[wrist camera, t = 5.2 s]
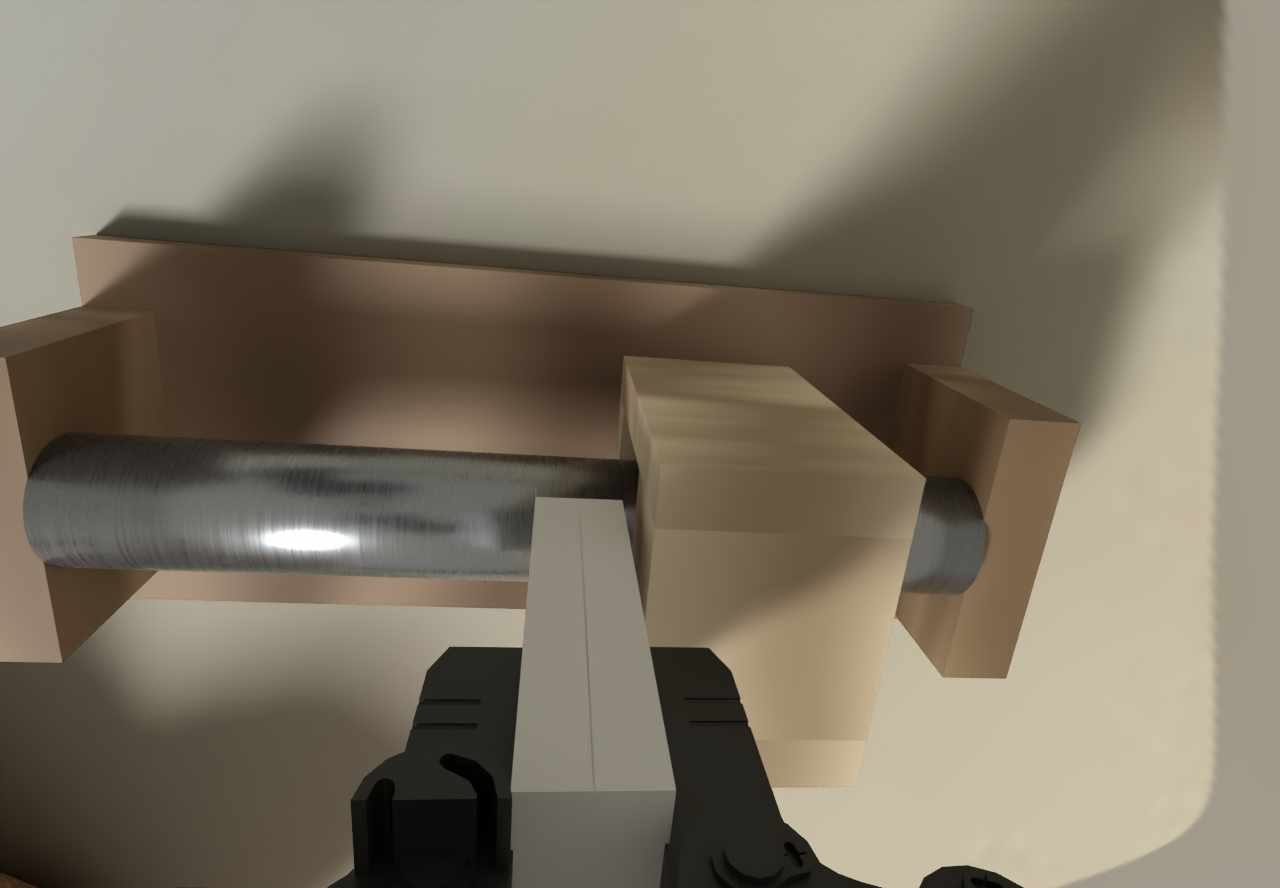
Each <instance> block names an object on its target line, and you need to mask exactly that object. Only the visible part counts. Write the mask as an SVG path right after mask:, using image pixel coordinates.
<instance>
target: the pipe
mask: <svg viewBox="0 0 1280 888" xmlns="http://www.w3.org/2000/svg"><path fill="white" fill-rule="evenodd" d="M0 888H38V887H35V886H33V885H30V884H28V883H25V882H23V881H20V880H18V879H15V878H13V877H10V876H8V875H5V874H2V873H0Z"/></svg>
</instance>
